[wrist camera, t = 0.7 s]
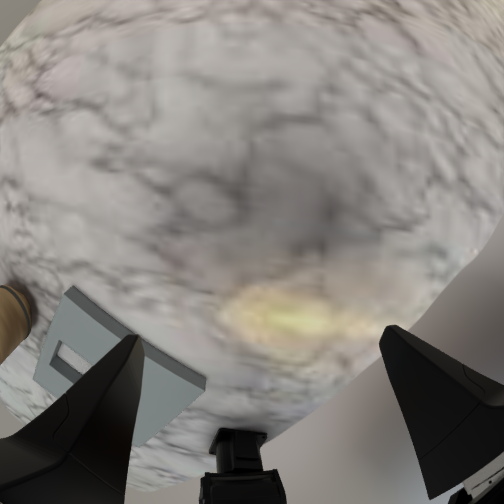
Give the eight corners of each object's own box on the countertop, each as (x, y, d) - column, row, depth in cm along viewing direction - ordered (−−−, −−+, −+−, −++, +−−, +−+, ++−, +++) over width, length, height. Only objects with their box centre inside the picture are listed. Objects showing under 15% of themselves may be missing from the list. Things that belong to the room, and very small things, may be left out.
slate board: (205, 378, 26) (205, 390, 24) (141, 437, 28) (139, 447, 26) (72, 285, 22) (63, 293, 20) (39, 370, 24) (32, 379, 22)
